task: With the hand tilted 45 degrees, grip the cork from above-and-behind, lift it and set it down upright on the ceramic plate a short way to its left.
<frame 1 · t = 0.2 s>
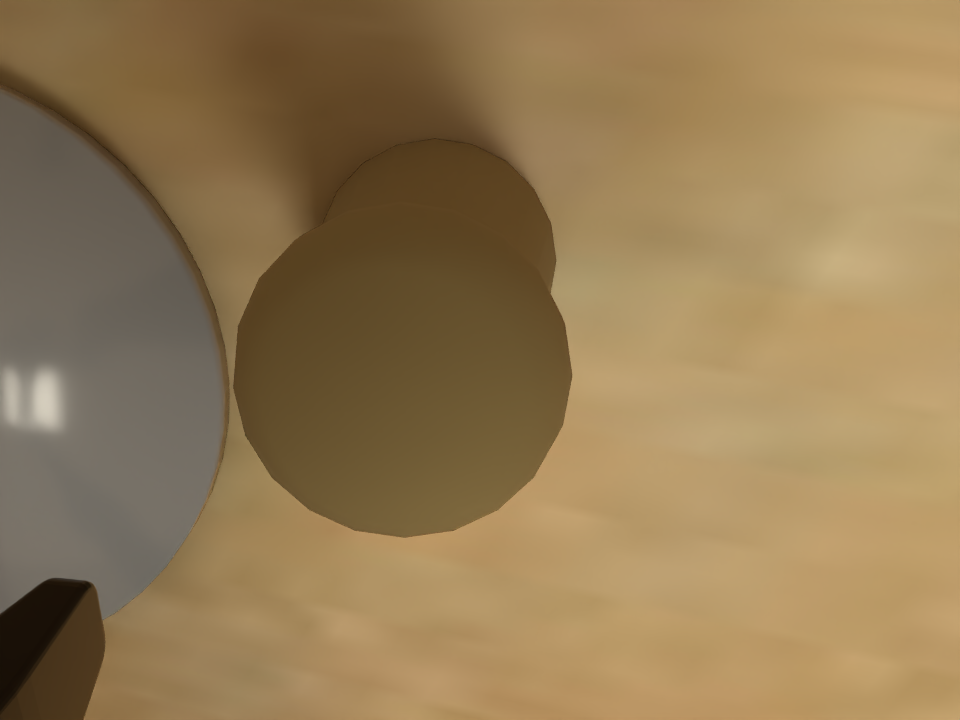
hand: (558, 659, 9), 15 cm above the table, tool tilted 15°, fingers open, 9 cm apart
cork: (437, 259, 23), on the table
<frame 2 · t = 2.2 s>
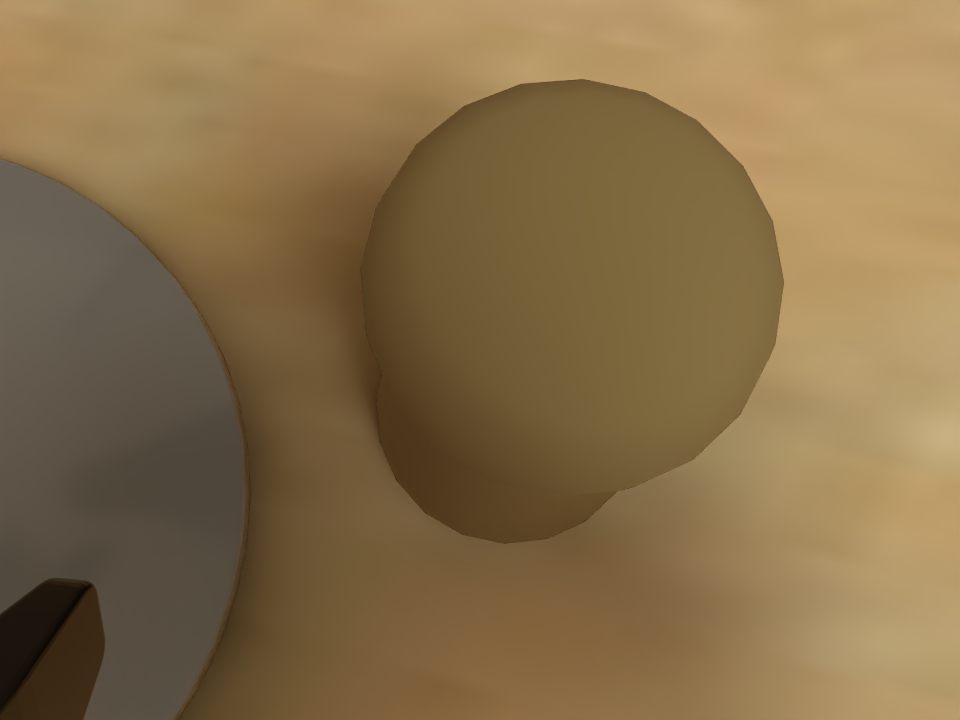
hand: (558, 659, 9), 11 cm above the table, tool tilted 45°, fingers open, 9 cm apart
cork: (509, 408, 21), on the table
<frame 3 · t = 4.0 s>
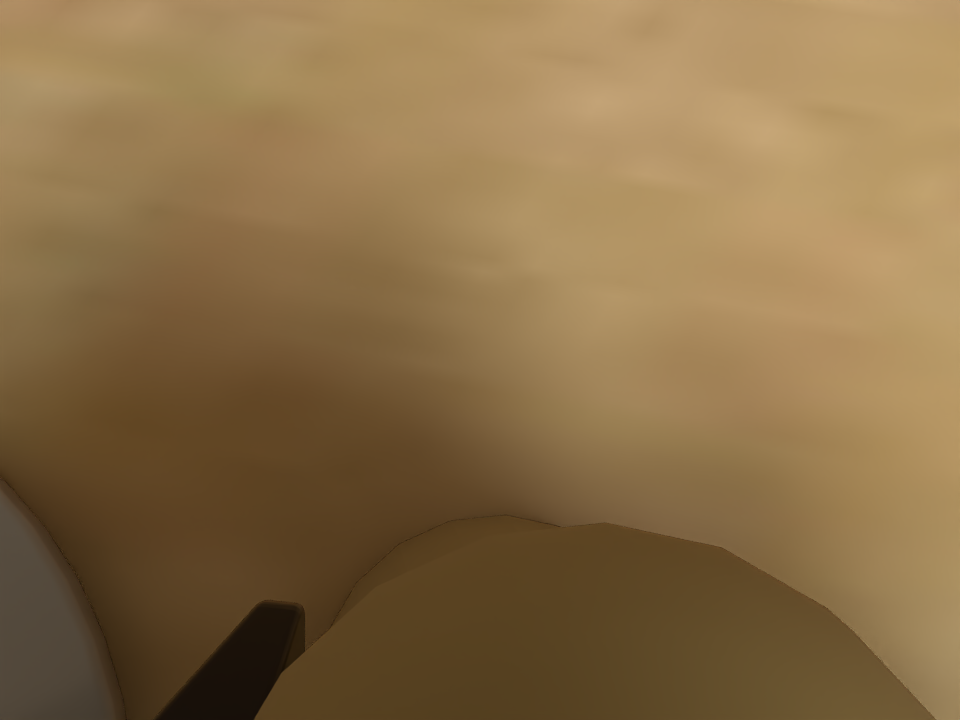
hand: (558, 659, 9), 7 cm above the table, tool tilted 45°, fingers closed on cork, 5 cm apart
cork: (496, 698, 15), on the table, touching gripper
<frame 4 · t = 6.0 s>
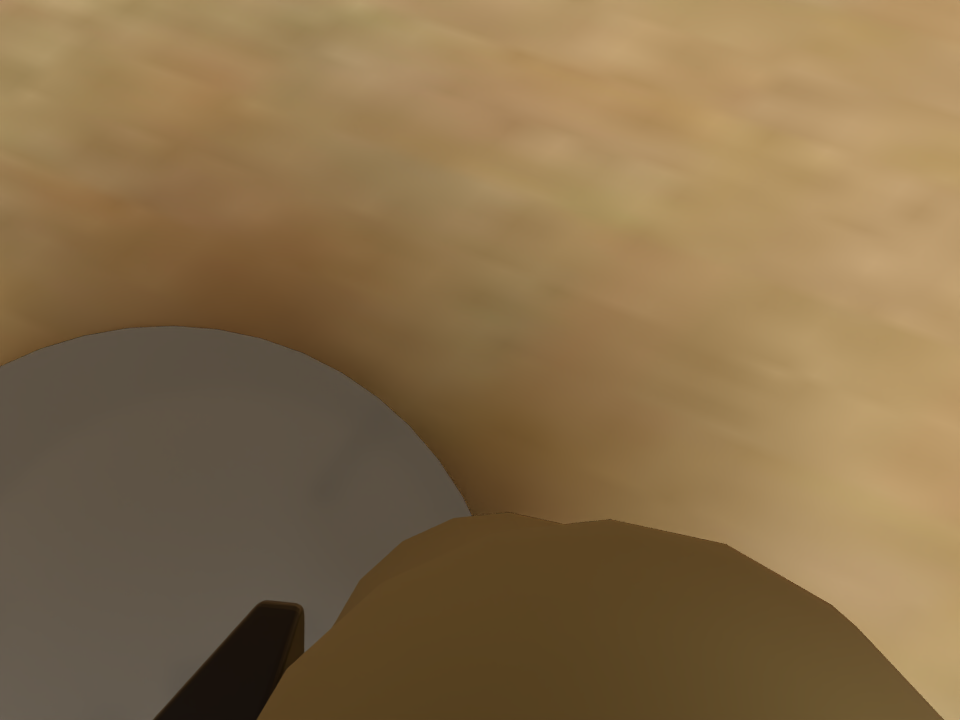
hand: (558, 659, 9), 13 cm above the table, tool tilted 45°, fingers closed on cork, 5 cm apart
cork: (499, 695, 15), point 6 cm above the table, touching gripper
plate: (161, 671, 21), on the table
when the fingers open (9 cm above the table, at t = 8.0 s): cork drops 1 cm, resting on plate.
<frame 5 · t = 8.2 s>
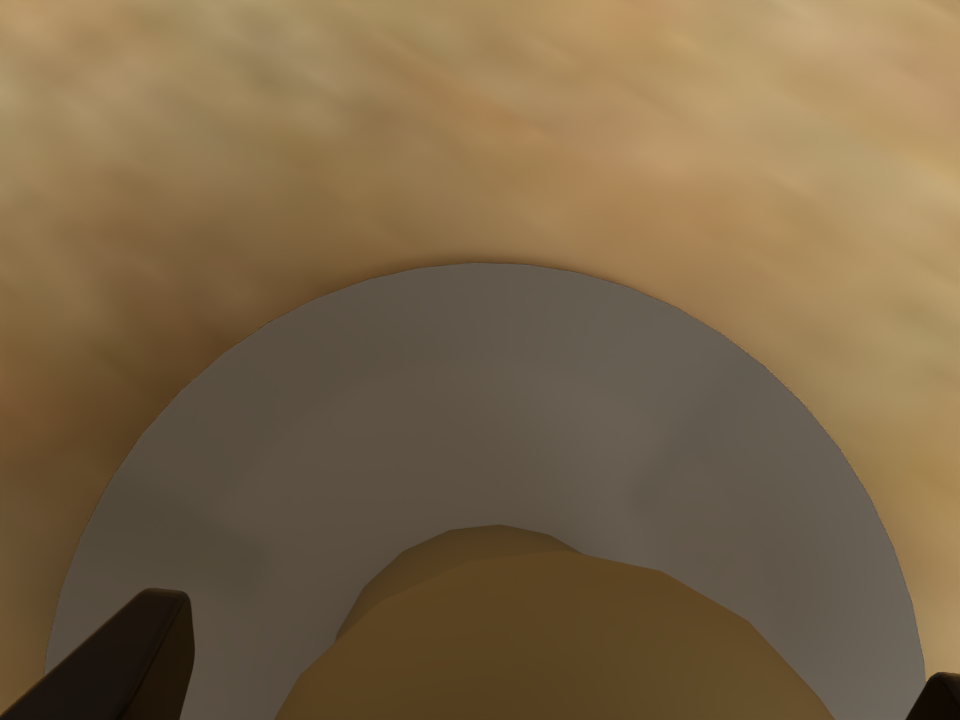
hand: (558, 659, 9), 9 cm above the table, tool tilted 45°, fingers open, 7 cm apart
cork: (492, 693, 17), point 1 cm above the table, touching plate
plate: (490, 679, 17), on the table
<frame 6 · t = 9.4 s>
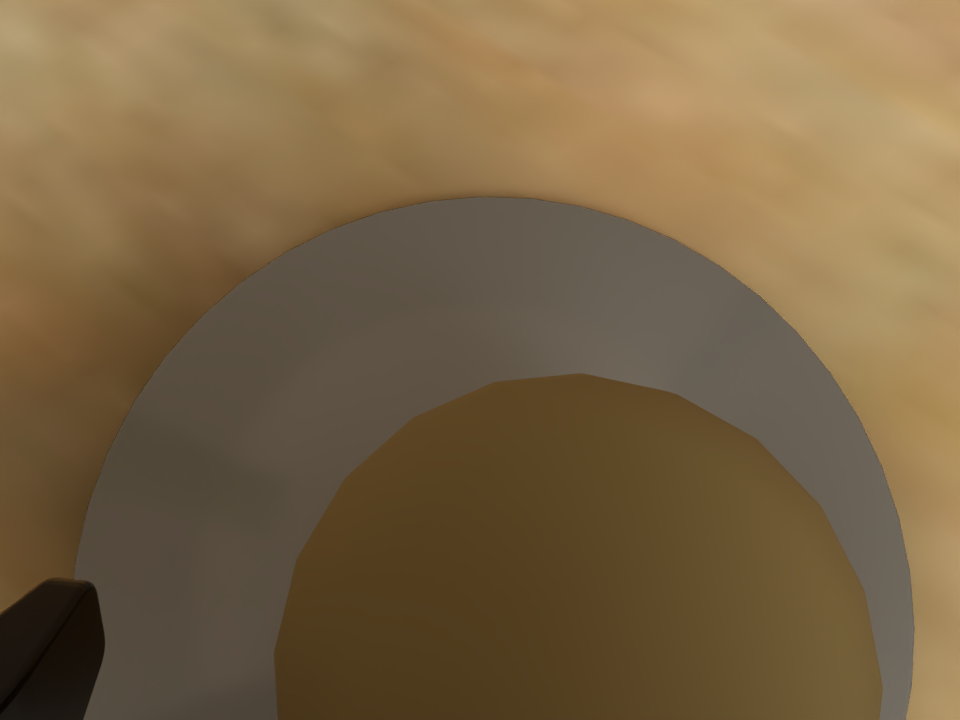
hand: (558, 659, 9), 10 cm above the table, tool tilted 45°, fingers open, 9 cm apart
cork: (499, 601, 17), point 1 cm above the table, touching plate
plate: (497, 591, 18), on the table
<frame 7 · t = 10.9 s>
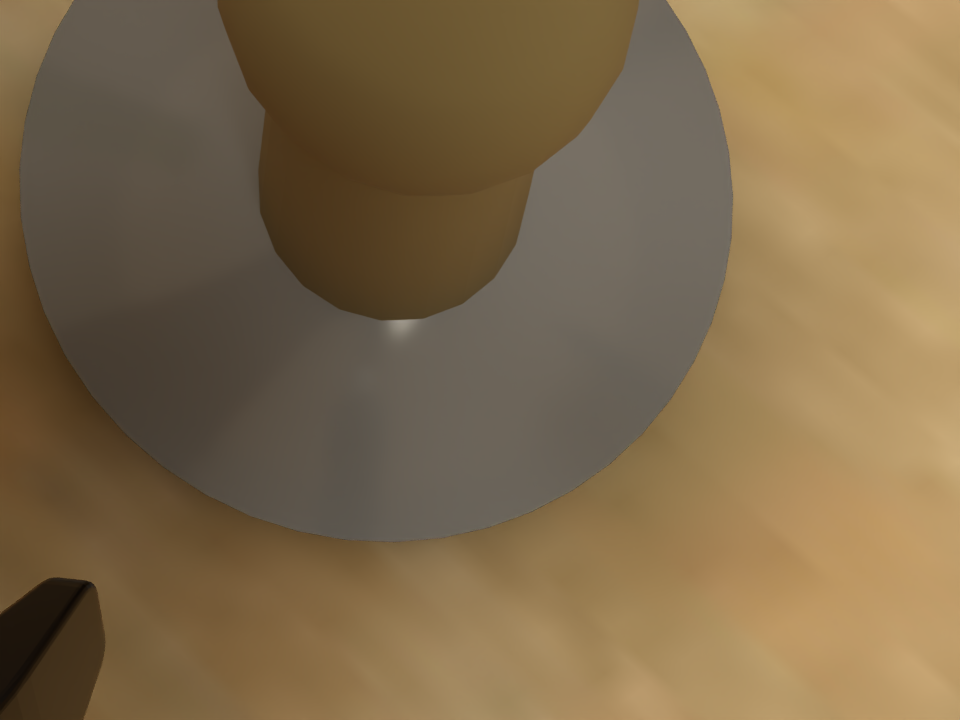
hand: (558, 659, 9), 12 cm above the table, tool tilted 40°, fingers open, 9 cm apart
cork: (394, 190, 21), point 1 cm above the table, touching plate
plate: (393, 194, 21), on the table
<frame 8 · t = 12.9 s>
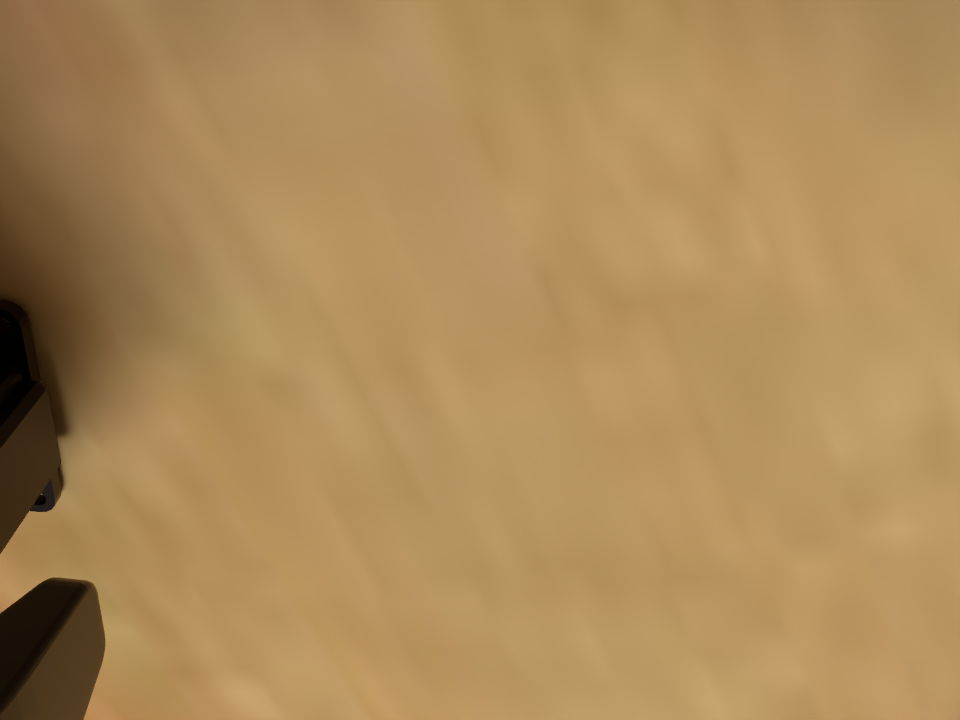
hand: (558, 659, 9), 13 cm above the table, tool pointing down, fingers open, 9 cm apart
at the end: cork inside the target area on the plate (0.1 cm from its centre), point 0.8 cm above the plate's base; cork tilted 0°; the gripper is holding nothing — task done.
